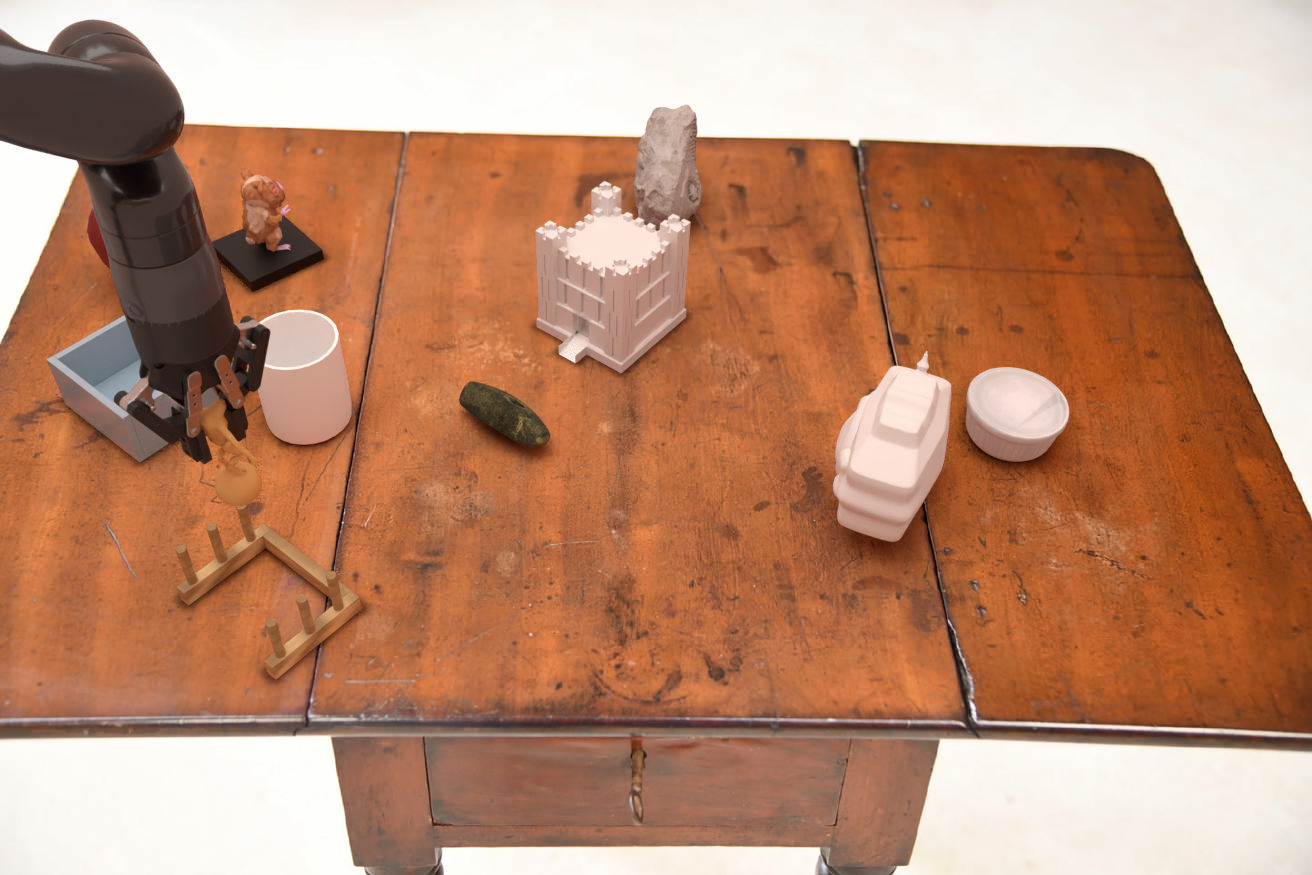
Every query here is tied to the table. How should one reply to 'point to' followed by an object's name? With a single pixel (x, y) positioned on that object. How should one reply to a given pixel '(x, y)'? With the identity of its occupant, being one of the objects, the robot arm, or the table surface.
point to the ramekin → (1014, 413)
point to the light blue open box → (110, 387)
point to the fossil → (667, 167)
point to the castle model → (611, 281)
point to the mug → (304, 378)
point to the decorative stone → (504, 414)
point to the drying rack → (324, 581)
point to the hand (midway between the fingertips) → (218, 445)
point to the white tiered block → (892, 451)
